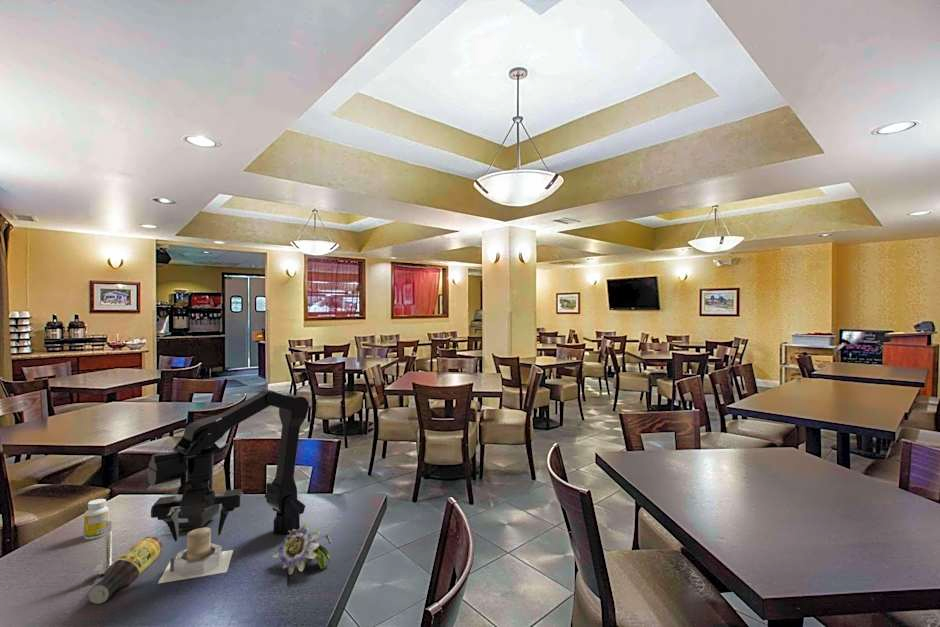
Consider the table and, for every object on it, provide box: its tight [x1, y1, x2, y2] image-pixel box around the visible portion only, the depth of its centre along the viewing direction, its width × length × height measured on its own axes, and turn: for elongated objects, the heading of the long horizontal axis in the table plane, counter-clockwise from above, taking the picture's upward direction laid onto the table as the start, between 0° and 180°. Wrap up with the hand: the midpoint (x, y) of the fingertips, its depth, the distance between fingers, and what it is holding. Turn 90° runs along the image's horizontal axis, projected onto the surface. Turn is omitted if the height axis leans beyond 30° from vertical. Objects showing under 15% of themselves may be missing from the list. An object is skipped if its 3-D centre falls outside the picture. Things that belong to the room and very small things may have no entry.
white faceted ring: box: [169, 542, 223, 577], centre depth 109 cm, size 10×10×3 cm
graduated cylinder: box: [93, 520, 116, 577], centre depth 106 cm, size 13×5×5 cm
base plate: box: [157, 549, 234, 585], centre depth 109 cm, size 14×11×1 cm
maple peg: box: [186, 527, 212, 561], centre depth 109 cm, size 5×5×8 cm
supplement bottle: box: [83, 498, 110, 540], centre depth 126 cm, size 5×5×10 cm
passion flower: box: [272, 522, 332, 576], centre depth 111 cm, size 11×11×12 cm
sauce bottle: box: [87, 536, 164, 605], centre depth 104 cm, size 7×6×20 cm
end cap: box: [178, 504, 221, 533], centre depth 132 cm, size 10×7×7 cm
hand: (198, 537), depth 109 cm, fingers open, 9 cm apart
